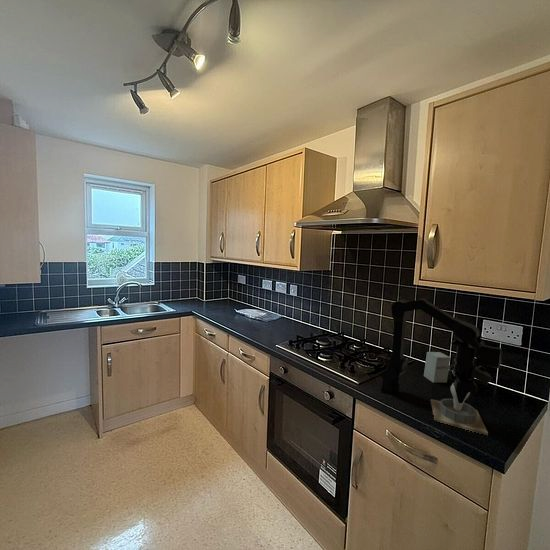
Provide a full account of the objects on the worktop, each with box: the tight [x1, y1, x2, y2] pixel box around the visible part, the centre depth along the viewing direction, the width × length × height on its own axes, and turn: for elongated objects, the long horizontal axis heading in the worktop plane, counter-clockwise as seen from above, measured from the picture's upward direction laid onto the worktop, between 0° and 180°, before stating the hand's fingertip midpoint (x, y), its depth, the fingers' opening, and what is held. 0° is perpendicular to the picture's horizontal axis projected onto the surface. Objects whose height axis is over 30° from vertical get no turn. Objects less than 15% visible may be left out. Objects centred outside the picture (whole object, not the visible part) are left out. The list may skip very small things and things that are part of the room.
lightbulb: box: [450, 383, 471, 411], centre depth 111 cm, size 6×6×11 cm
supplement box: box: [423, 351, 451, 384], centre depth 144 cm, size 7×7×13 cm
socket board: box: [430, 398, 489, 437], centre depth 111 cm, size 16×16×4 cm
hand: (458, 399), depth 111 cm, fingers closed on lightbulb, 6 cm apart
